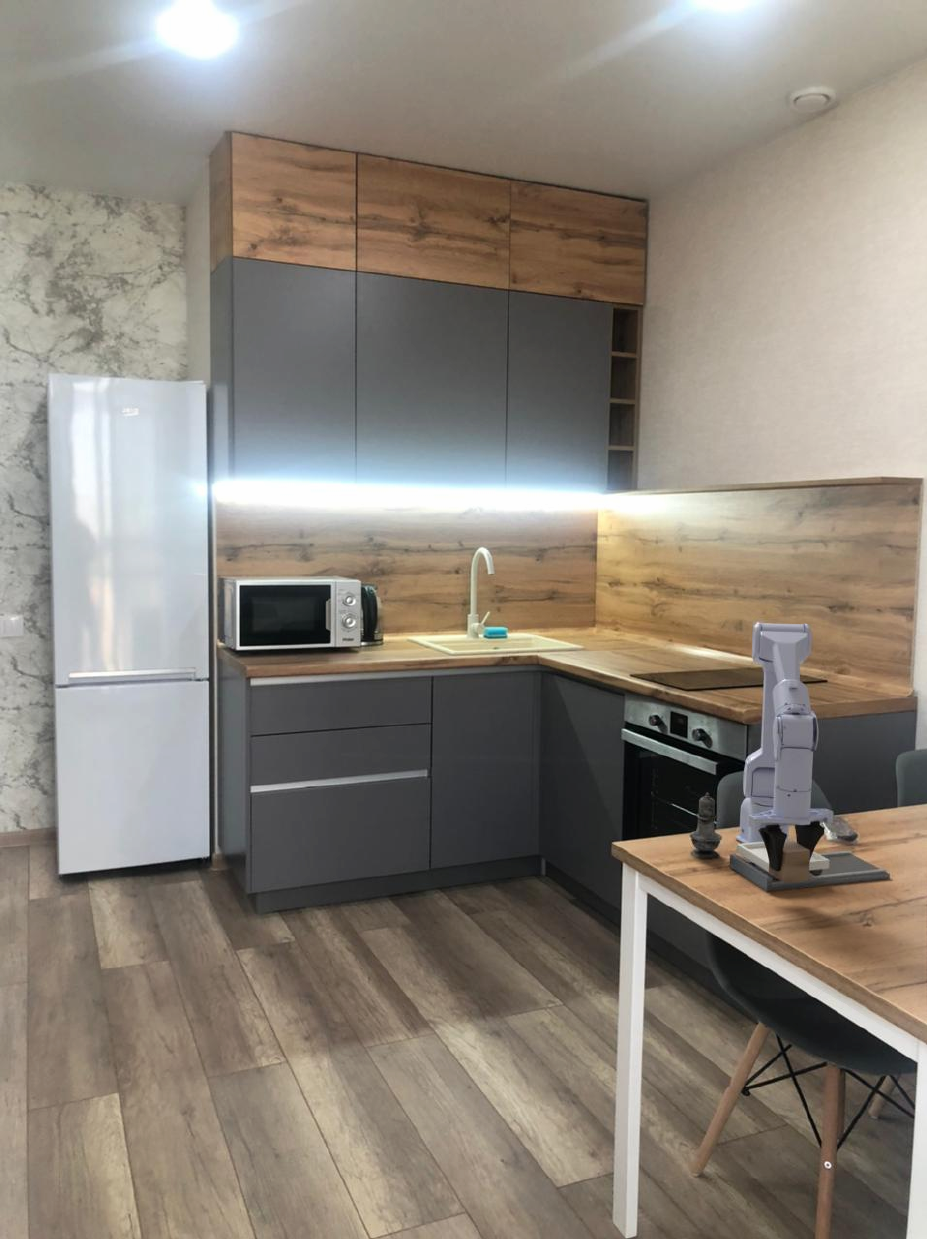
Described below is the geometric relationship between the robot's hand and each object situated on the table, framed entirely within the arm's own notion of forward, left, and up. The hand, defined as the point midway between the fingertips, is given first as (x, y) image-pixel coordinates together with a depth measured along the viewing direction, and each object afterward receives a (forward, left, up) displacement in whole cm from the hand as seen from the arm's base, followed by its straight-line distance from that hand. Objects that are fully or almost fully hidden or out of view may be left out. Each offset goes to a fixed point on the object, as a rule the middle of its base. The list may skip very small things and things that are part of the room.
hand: (788, 867), depth 165 cm
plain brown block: (0, 0, -2) cm, 2 cm away
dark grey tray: (-10, +11, -6) cm, 16 cm away
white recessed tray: (-10, +6, -4) cm, 13 cm away
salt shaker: (-23, -2, -6) cm, 24 cm away
